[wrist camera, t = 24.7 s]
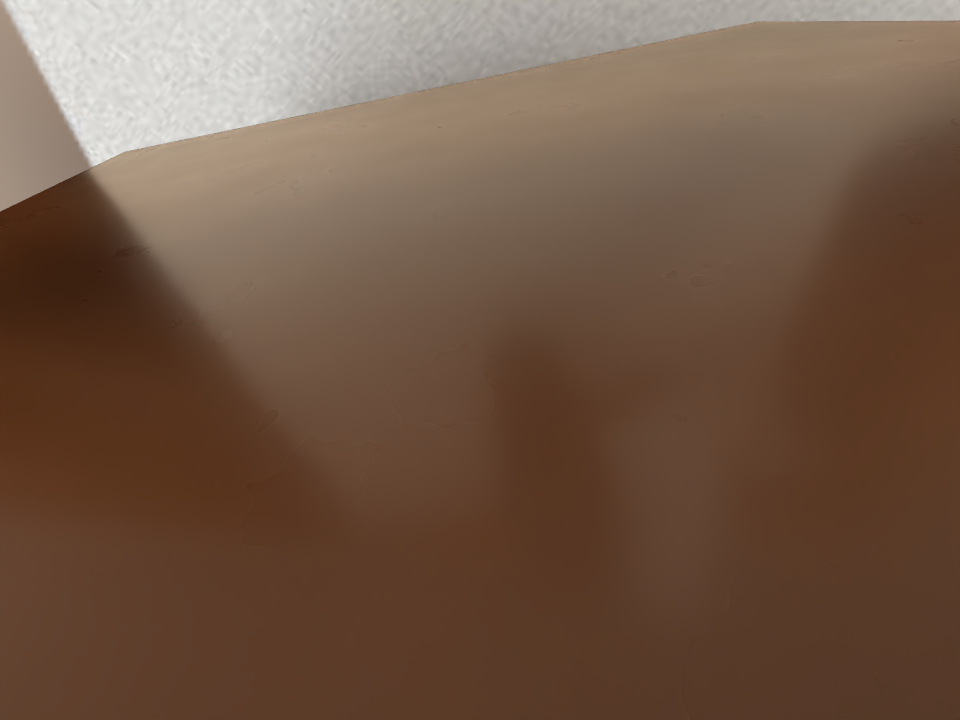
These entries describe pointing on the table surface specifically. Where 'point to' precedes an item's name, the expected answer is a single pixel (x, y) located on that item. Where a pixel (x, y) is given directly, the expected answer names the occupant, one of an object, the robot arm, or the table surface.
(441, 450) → the lid
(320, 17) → the table surface
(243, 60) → the table surface
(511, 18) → the table surface
